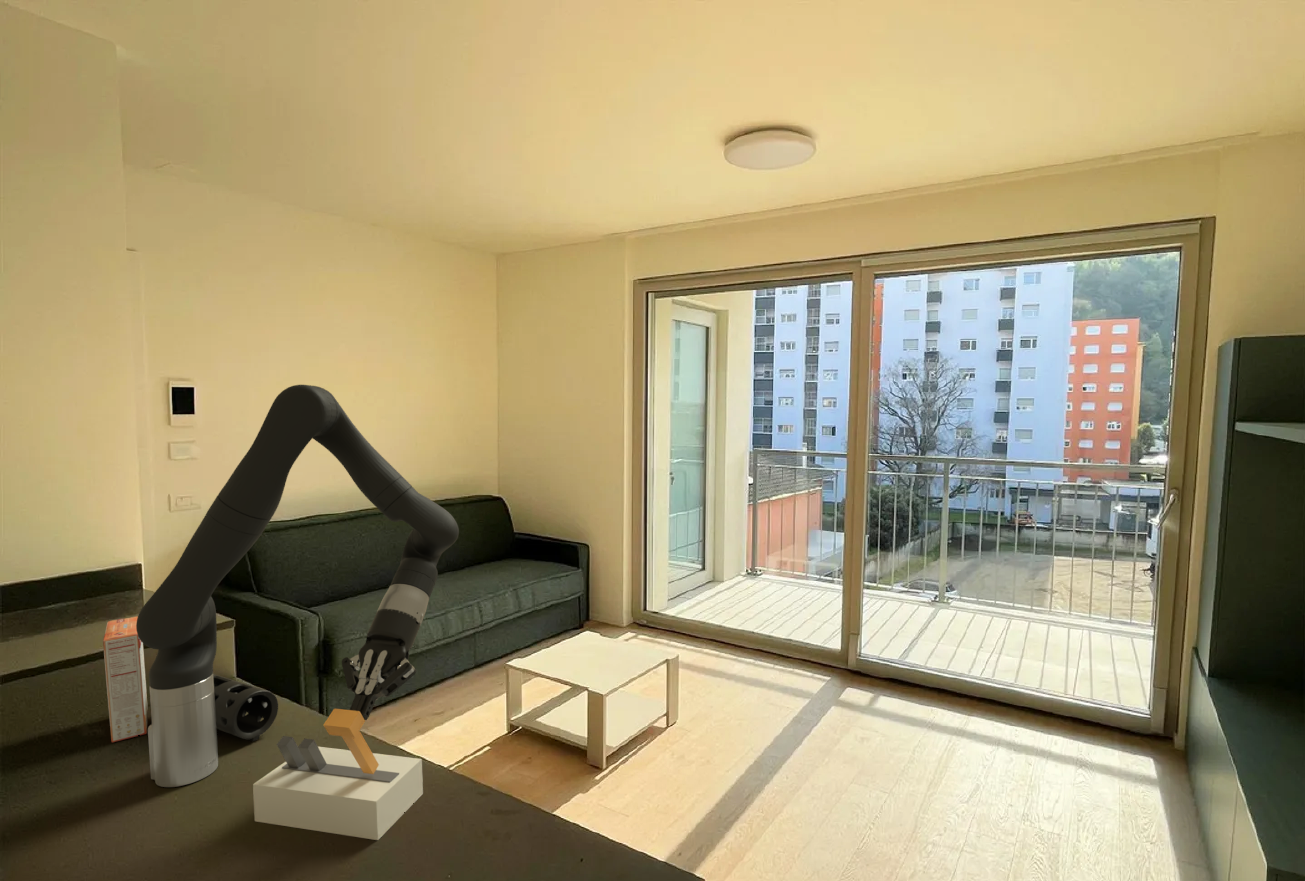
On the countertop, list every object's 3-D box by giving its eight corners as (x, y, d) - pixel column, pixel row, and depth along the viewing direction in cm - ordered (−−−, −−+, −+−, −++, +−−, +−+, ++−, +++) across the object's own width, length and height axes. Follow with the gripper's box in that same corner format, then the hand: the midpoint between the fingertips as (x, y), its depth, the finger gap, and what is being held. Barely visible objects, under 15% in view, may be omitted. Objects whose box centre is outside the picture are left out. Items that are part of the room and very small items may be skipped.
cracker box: (112, 717, 140) (106, 620, 139) (148, 709, 144) (142, 614, 142) (108, 744, 129) (101, 639, 127) (147, 735, 132) (141, 632, 131)
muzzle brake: (232, 754, 125) (229, 700, 124) (153, 722, 138) (150, 673, 137) (281, 731, 133) (278, 681, 133) (202, 703, 146) (200, 657, 146)
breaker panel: (254, 821, 104) (251, 748, 103) (310, 778, 116) (307, 712, 115) (377, 840, 99) (374, 763, 99) (423, 793, 111) (420, 724, 110)
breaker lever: (354, 775, 105) (323, 724, 98) (363, 759, 107) (334, 708, 100) (378, 778, 104) (349, 727, 97) (388, 762, 106) (359, 711, 99)
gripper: (354, 605, 111) (304, 709, 100) (424, 609, 109) (382, 717, 97) (375, 625, 117) (331, 726, 106) (443, 629, 114) (404, 734, 103)
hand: (355, 721), depth 102 cm, fingers closed
